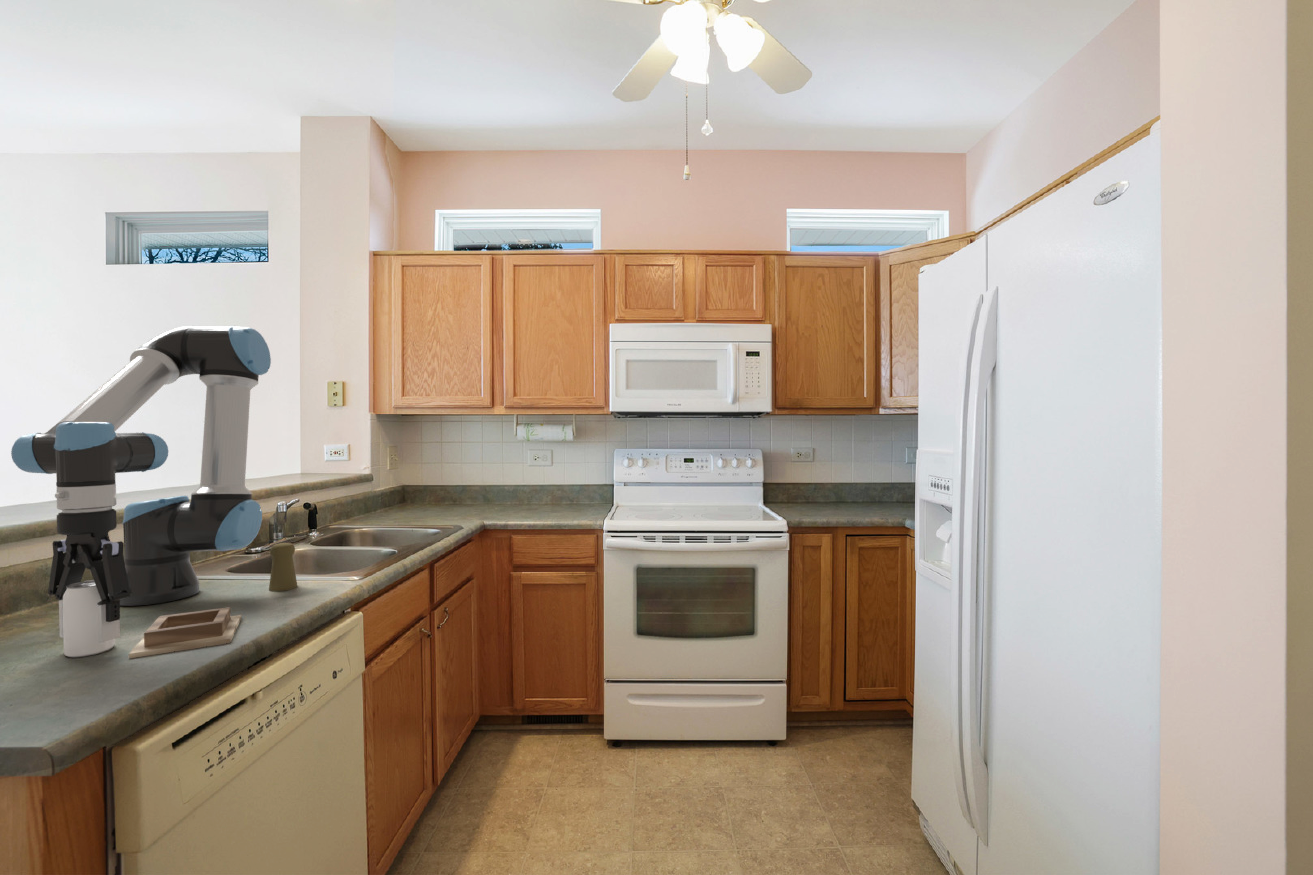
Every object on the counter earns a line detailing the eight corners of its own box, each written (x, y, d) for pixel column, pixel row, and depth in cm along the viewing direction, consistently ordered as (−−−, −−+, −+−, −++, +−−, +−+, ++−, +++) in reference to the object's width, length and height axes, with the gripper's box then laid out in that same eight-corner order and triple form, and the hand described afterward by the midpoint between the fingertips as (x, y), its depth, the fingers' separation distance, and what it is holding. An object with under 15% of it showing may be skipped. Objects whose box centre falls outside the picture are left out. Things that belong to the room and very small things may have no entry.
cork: (276, 585, 147) (276, 541, 146) (302, 584, 147) (301, 540, 147) (263, 591, 140) (262, 546, 140) (289, 590, 141) (289, 545, 141)
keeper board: (153, 630, 113) (152, 613, 113) (241, 618, 120) (241, 602, 120) (128, 658, 99) (128, 639, 99) (230, 642, 106) (229, 624, 106)
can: (83, 659, 99) (81, 589, 99) (53, 657, 100) (52, 587, 100) (124, 645, 105) (123, 579, 105) (96, 643, 106) (95, 578, 106)
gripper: (17, 510, 102) (20, 639, 102) (106, 514, 96) (108, 650, 96) (70, 505, 109) (72, 625, 109) (155, 508, 103) (158, 635, 103)
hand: (89, 637), depth 103 cm, fingers open, 9 cm apart
